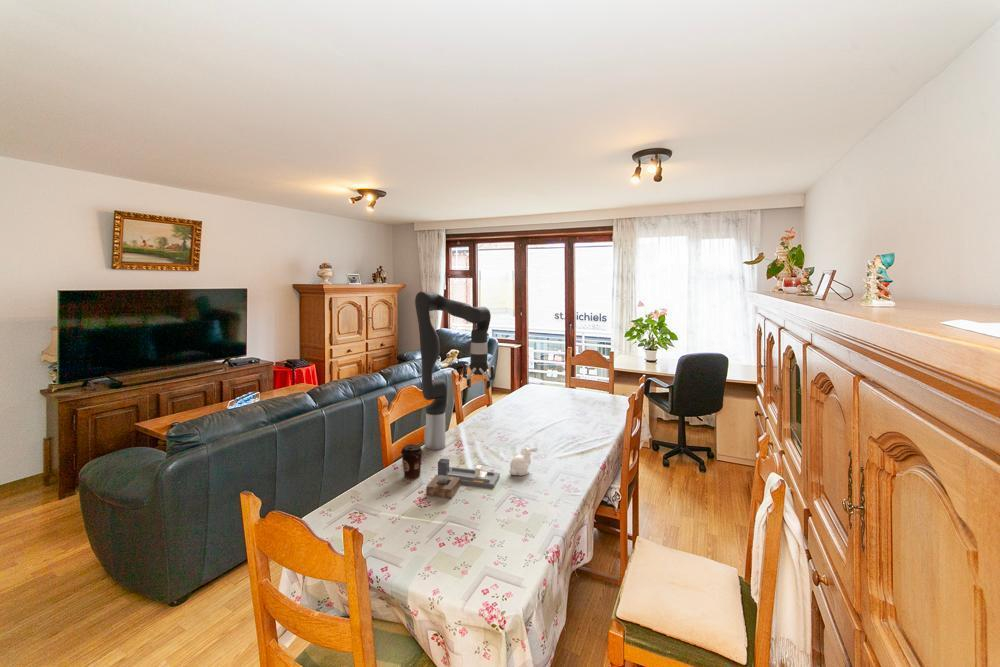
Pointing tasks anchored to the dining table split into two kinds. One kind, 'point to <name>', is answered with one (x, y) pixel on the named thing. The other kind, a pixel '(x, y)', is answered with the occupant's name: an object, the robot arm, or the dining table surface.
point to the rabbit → (521, 462)
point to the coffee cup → (411, 461)
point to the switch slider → (480, 472)
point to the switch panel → (469, 477)
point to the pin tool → (443, 471)
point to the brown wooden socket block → (443, 487)
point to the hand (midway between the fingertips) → (478, 387)
